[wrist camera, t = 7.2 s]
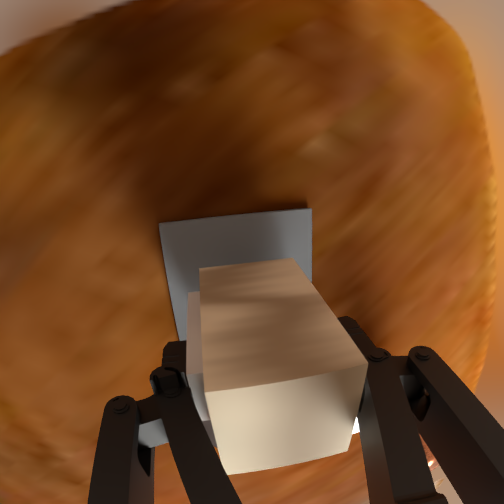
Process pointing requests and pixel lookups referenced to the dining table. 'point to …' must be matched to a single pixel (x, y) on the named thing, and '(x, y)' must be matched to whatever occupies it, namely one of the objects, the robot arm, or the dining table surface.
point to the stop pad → (230, 248)
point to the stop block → (275, 367)
